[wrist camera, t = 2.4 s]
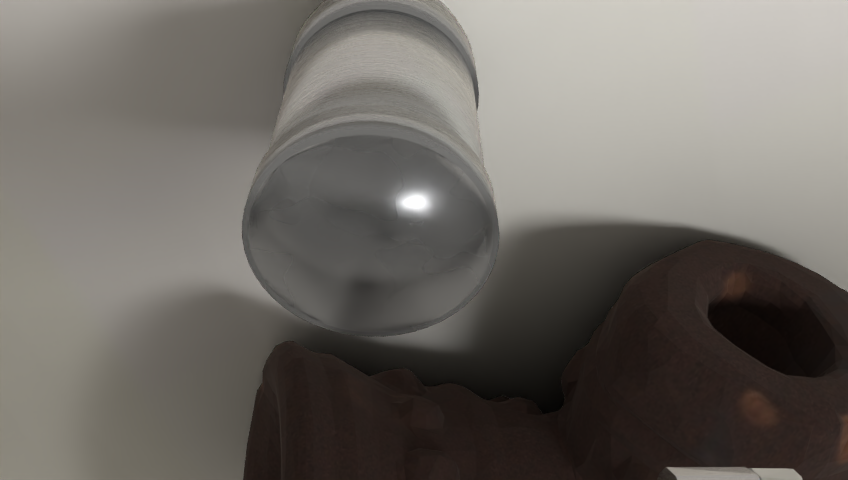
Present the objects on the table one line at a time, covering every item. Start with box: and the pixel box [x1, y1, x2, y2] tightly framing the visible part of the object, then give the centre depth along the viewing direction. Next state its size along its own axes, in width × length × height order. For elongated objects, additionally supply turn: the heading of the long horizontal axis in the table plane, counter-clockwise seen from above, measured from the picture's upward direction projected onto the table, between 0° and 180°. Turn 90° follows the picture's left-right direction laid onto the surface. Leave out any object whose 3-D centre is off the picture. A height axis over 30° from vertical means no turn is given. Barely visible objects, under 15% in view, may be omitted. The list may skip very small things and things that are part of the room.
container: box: [242, 0, 499, 337], centre depth 16 cm, size 4×4×7 cm
